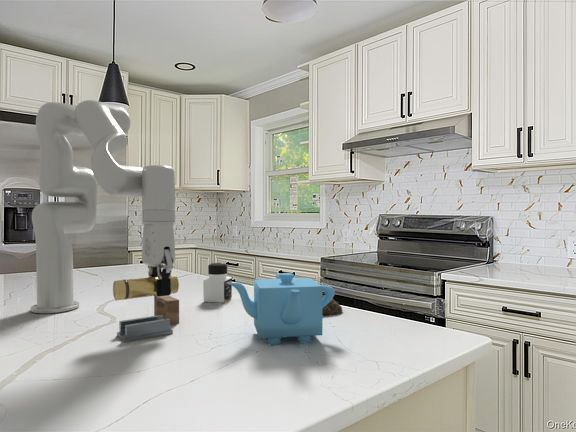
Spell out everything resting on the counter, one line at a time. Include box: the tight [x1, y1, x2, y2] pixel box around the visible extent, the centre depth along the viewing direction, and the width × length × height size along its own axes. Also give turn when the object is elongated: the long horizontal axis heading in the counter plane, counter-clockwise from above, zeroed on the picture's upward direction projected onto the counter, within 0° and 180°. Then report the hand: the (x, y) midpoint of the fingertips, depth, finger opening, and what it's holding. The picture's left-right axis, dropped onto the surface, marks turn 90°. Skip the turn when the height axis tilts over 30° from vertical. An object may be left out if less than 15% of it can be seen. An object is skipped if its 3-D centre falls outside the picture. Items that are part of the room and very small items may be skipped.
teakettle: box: [227, 272, 336, 346], centre depth 99 cm, size 19×19×15 cm
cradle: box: [116, 315, 174, 343], centre depth 101 cm, size 6×11×3 cm, turn 127°
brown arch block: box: [153, 295, 180, 326], centre depth 114 cm, size 10×3×6 cm, turn 37°
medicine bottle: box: [203, 262, 233, 304], centre depth 139 cm, size 7×7×12 cm
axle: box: [112, 274, 180, 301], centre depth 101 cm, size 14×4×4 cm, turn 127°
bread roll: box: [322, 294, 343, 317], centre depth 125 cm, size 13×12×5 cm
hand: (159, 293), depth 103 cm, fingers closed on axle, 4 cm apart
